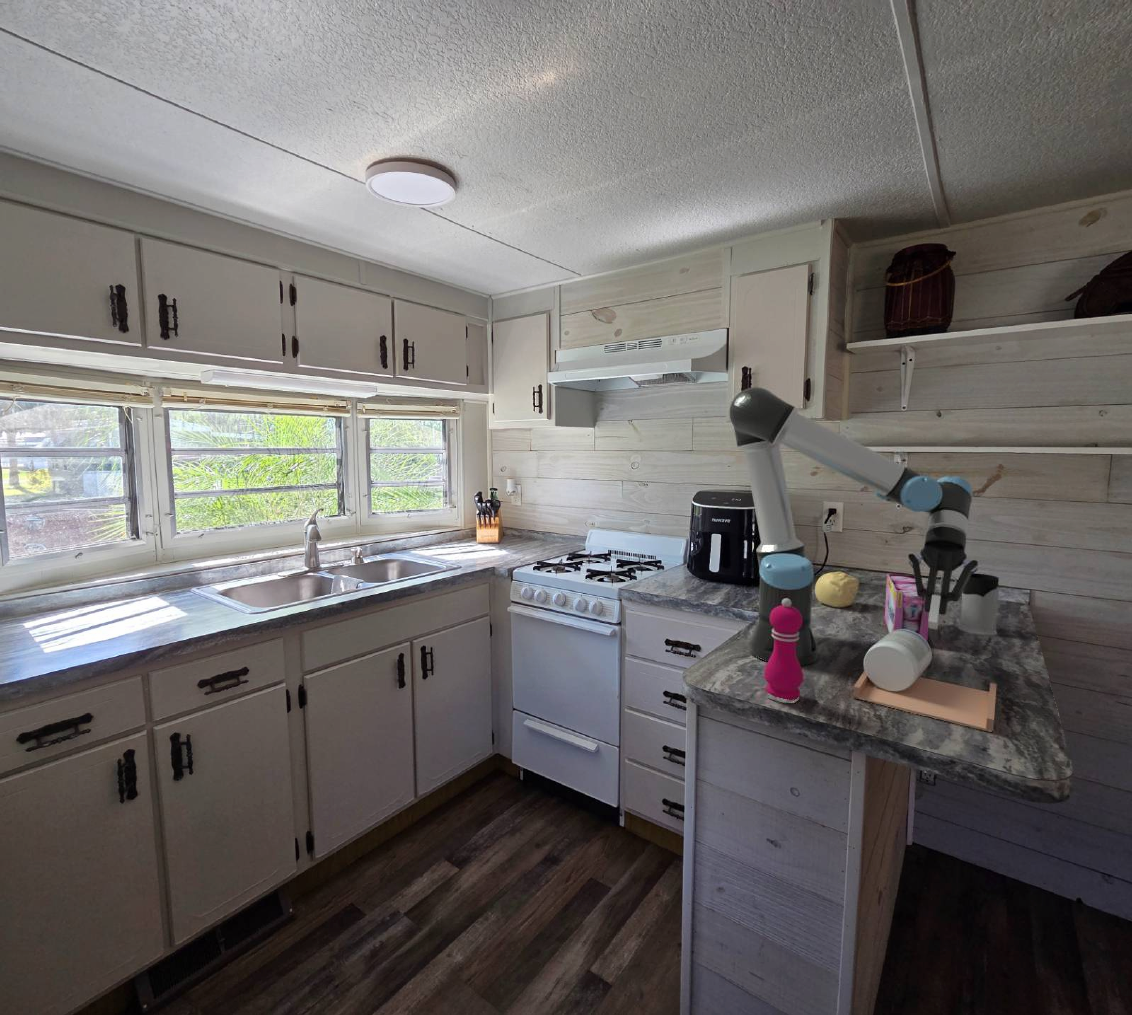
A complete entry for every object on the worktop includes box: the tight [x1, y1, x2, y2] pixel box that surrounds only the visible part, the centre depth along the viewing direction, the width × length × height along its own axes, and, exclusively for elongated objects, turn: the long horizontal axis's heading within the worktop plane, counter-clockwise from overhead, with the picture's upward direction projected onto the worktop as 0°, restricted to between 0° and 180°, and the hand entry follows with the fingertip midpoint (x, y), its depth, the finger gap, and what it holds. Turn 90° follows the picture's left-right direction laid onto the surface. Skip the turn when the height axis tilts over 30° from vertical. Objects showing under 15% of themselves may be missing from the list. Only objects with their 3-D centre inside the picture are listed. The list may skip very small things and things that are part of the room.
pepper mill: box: [763, 598, 804, 700], centre depth 110 cm, size 7×7×20 cm
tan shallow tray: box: [852, 670, 998, 732], centre depth 111 cm, size 19×22×2 cm
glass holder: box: [939, 572, 1000, 636], centre depth 155 cm, size 9×14×15 cm, turn 33°
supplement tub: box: [863, 629, 933, 691], centre depth 117 cm, size 10×10×15 cm
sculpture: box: [814, 571, 860, 608], centre depth 178 cm, size 11×12×11 cm
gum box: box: [884, 573, 930, 642], centre depth 151 cm, size 24×8×14 cm, turn 155°
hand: (932, 625), depth 115 cm, fingers closed
